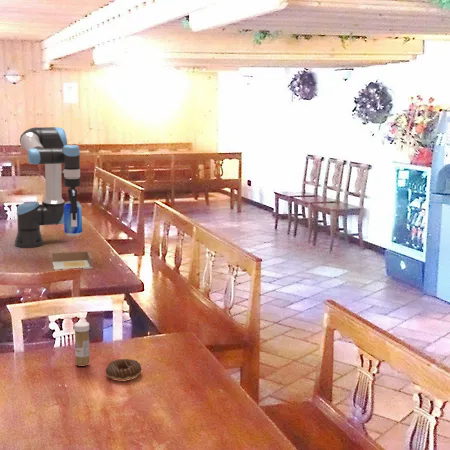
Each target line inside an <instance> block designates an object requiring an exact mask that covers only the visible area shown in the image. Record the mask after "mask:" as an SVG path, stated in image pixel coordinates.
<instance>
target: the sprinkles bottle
mask: <svg viewBox="0 0 450 450" xmlns="http://www.w3.org/2000/svg"><path fill="white" fill-rule="evenodd" d="M73 331H74V356H75V364H76V365H86V364H88V363H89V362H90V322H88V321H78V322H77V321H76V322H75V323H74V325H73ZM75 364H74V365H75ZM76 365H75V366H76Z"/></svg>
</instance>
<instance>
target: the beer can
mask: <svg viewBox="0 0 450 450" xmlns="http://www.w3.org/2000/svg"><path fill="white" fill-rule="evenodd" d="M65 203H66V204H65V205H64V223H63V225H64V226H63V228H64V229H63V230H64V231H63V232H64V234H65V235H66V236H67V237H79V236H80V235H81V234H82V233H83V212H82V211H83V207H82V205H81V203H80V201H79V200H77V227H71V213H70V212H71V201H69V200H68V201H65Z"/></svg>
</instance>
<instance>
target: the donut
mask: <svg viewBox="0 0 450 450" xmlns="http://www.w3.org/2000/svg"><path fill="white" fill-rule="evenodd" d="M141 372H142V365H141V363H139V362H138V360H134V359H129V358H128V359H126V358H123V359H121V358H120V359H114V360H112V361H111V362H110V363H108V364H107V366H106V368H105V374H106V376H107V377H108V378H109V377H110V378H112V379H117V380H127V379H132V378H134V377H136V376H138V375H139V374H140V375H141ZM140 375H139V376H140ZM139 376H138V377H139ZM110 378H109V379H110ZM112 379H111V380H112Z"/></svg>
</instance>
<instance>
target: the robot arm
mask: <svg viewBox="0 0 450 450" xmlns="http://www.w3.org/2000/svg"><path fill="white" fill-rule="evenodd" d="M66 134H67V133H66V131H65V129H63V128H62V127H59V126H58V127H56V126H52V127H51V126H50V127H49V126H47V127H43V126H42V127H35V126H34V127H31V128H28V129H26V130H25V131H23V132H22V134H21V135H20V138H19V143H20V146H21V147H22V148H23V149H24V150H26V151H27V161H28V164H30V165H36V166H37V165H44V170H45V171H44V174H45V175H44V180H45V198H44V199H43V200H42V204H40V202H38V201H29V202H24V203H20V204H18V206H17V207H16V217H17V218H16V219H17V233H16V237H15V239H14V246H15V247H17V248H39V247H40V246H44V244H45V243H44V237H43V235H42V233H41V230H40V227H41V226H51V225H53V226H55V225H56V226H57V225H64V205H65V204H66V202H65V200H64V198H63V196H62V195H63V194H62V189H63V188H62V174H63V177H64V179H63V186H64V187H68V189H67V193H68V201H71V212H70V213H71V227H77V201H78V200H77V199H78V196H77V195H78V190H77V189H76V188H77V187H80V186H81V178H80V177H81V158H80V157H81V156H80V155H81V152H80V146H79V145H76V144H68V138H67V135H66ZM62 165H63V170H62Z"/></svg>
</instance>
